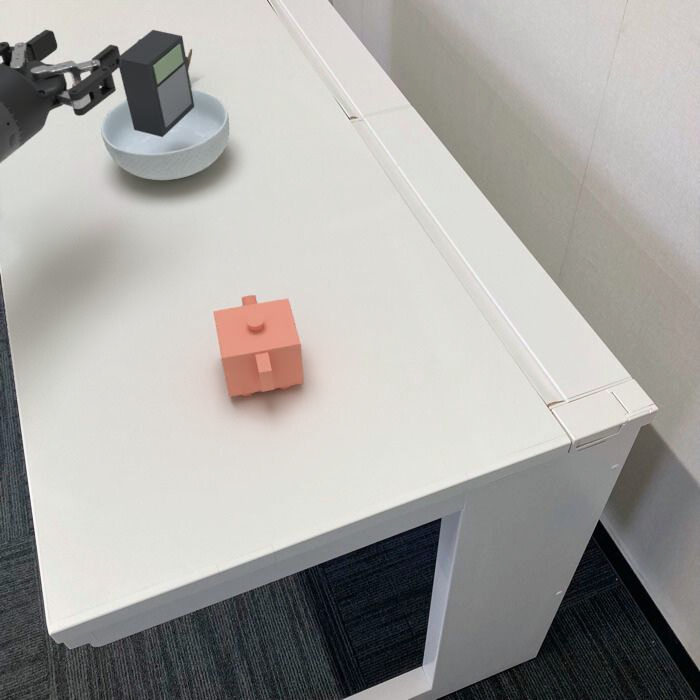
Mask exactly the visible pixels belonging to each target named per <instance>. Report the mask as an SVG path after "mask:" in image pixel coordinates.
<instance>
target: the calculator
mask: <svg viewBox="0 0 700 700" xmlns="http://www.w3.org/2000/svg"><path fill="white" fill-rule="evenodd" d="M137 41H138V42H137ZM137 41H136V42H135V43H134V44H133V45H132V46H130V47H129V48H127V49H126V50H125V51H124V52H123V53H121V54H120V57H121V62H122V64H121V66H120V67H119V68H118V69H119V73H120V78H121V81H122V85H123V90H124V92H125V93H124V94H125V97H126V99H127V102H128V106H129V110H130V114H131V118H132V123H133V127H134V130H136V131H140V132H144V133H148V134H152V135H156V136H160V137H163V136H164V135H166V134H167V133H168V132H169V131H170V130H171V129H172V128H173V127H174V126H175V125H176V124H177V123H178V122H179V121H180V120H181V119H182V118H183V117H184V116H185V115H186V114H188V113H189V112H190V111H191V110H192V109H193V108H194V102H193V96H192V90H191V89H192V85H191V80H190V72H189V69H188V67H187V61H186V57H187V56H186V50H185V44H184V38H183V35H179V34H175V33H170V32H166V31H161V30H156V29H152V30H151V31H150V32H148V33H147V34H146V35H144V36H143V37H142V38H140V40H139V39H138V40H137Z"/></svg>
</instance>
